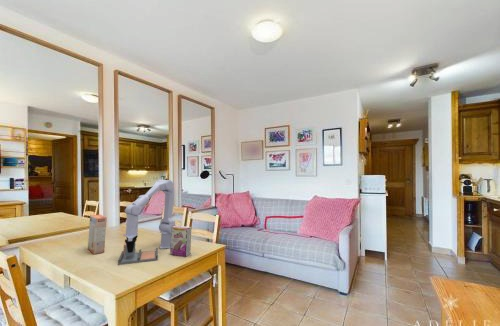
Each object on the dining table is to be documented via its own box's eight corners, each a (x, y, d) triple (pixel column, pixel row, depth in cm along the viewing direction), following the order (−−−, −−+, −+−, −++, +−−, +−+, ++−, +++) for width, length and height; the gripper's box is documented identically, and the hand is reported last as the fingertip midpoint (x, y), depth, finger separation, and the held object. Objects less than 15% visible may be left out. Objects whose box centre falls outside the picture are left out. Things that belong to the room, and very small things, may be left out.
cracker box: (105, 252, 132) (107, 217, 134) (92, 255, 128) (95, 218, 129) (98, 247, 142) (100, 213, 143) (87, 249, 138) (89, 215, 139)
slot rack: (157, 252, 136) (157, 247, 136) (157, 260, 123) (157, 255, 123) (121, 255, 128) (122, 251, 128) (118, 264, 115) (118, 260, 115)
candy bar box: (169, 254, 132) (170, 226, 132) (175, 252, 136) (176, 225, 137) (185, 257, 128) (186, 228, 129) (190, 254, 133) (191, 226, 133)
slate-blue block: (135, 252, 127) (135, 243, 127) (134, 254, 122) (134, 245, 123) (126, 252, 125) (126, 243, 125) (125, 255, 121) (125, 246, 121)
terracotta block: (132, 250, 138) (133, 242, 138) (131, 252, 133) (132, 244, 134) (124, 251, 136) (124, 242, 136) (123, 253, 132) (123, 245, 132)
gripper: (125, 223, 130) (124, 247, 129) (122, 229, 116) (120, 256, 116) (139, 223, 132) (137, 246, 132) (137, 228, 119) (135, 254, 118)
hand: (130, 250), depth 124 cm, fingers closed on slate-blue block, 4 cm apart
